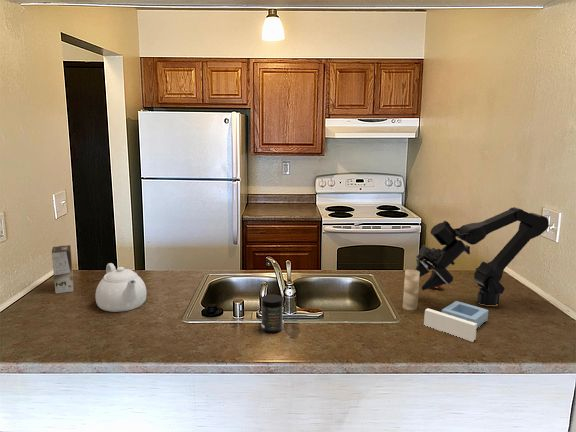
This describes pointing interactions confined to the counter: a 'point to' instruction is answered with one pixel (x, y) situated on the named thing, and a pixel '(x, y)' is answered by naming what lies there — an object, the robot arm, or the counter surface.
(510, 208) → the robot arm
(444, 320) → the white base plate
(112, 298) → the teapot
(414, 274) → the dowel
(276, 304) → the supplement container
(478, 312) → the socket block
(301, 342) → the counter surface
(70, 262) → the coffee box
